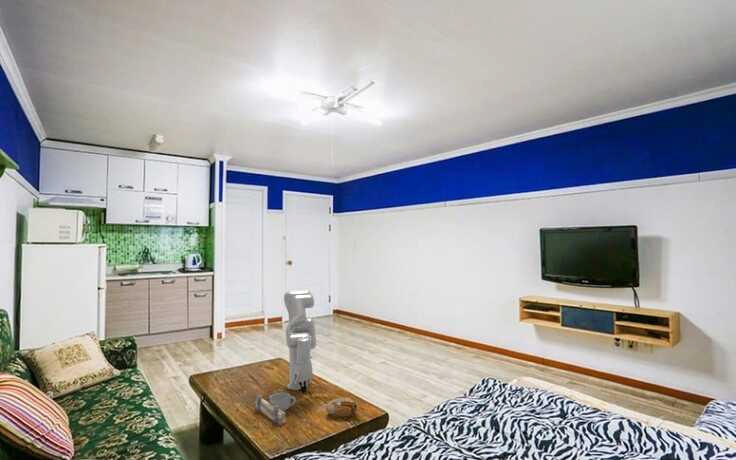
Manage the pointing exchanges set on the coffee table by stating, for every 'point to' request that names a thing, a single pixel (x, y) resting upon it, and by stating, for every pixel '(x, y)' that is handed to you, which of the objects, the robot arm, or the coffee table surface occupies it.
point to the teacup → (282, 400)
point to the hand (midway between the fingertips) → (303, 392)
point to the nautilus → (342, 407)
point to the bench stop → (270, 410)
